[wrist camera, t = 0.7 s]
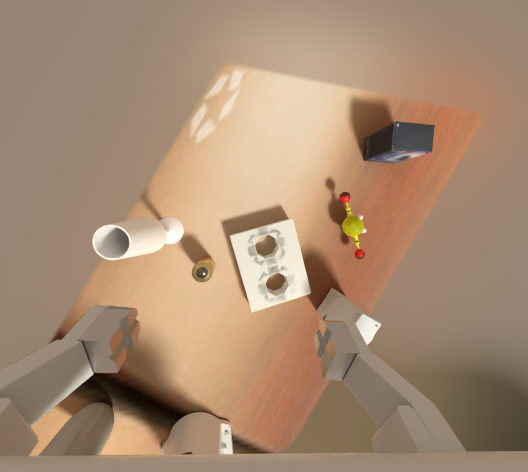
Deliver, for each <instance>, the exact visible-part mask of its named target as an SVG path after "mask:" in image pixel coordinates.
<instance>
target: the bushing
mask: <svg viewBox="0 0 528 472" xmlns="http://www.w3.org/2000/svg"><path fill="white" fill-rule="evenodd" d="M214 269H215V262H214V260H213V259H211V258H209V257H204V258H202V259H200V260H199V261H198V263H197V264H196V265H195V266H194V268H193V269H192V276H193V278H194V279H195V280H196V281H198V282H206V281H208V280H209V279H210V278H211V276H212V273H213V271H214Z"/></svg>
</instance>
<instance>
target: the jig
mask: <svg viewBox="0 0 528 472" xmlns="http://www.w3.org/2000/svg"><path fill="white" fill-rule="evenodd" d="M266 235H270V236H272V237H274V241H275V244H276V247H275V248H274V250H273V252H272V253H271V254H268V255H265V256H263V255H261V254H259V253H257V251H256V248H255V244H256V243H257V241H258V239H259V237H262V236H266ZM230 239H231V242H232V246H233V249H234V252H235V256H236V259H237V263H238V266H239V270H240V273H241V277H242V280H243V283H244V287H245V290H246V294H247V297H248V301H249V304H250V308H251V311H252V312H255V311H258V310H261V309H264V308H267V307H270V306H274V305H277V304H280V303H283V302H286V301H289V300H292V299H295V298H298V297H301V296H304V295H308V294H311V290H310V286H309V282H308V278H307V274H306V270H305V266H304V262H303V258H302V254H301V250H300V246H299V242H298V238H297V234H296V230H295V226H294V222H293V219H285V220H282V221H278V222H274V223H271V224H267V225H264V226H260V227H256V228H253V229H249V230H246V231H242V232H238V233H235V234H231V235H230ZM277 273H280V274H282V275H284V279H285V282H284V283H283V285H282V287H281V288H279V289H276V290H271V289H269V288H267V287H266V284H265V283H266V282H267V280H268V278H269V276H270V275H273V274H277Z"/></svg>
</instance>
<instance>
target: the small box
mask: <svg viewBox="0 0 528 472" xmlns="http://www.w3.org/2000/svg"><path fill="white" fill-rule="evenodd" d="M434 127H435V125H426V124H416V123H406V122H396V121H395V122H393V123H392V124H390V125H388V126H386V127H385V128H383V129H381V130H380V131H378V132H376V133H374V134H372V135H371V136H369V137H367V138H365V153H364V161H375V162H389V163H399V162H402V161H405V160H408V159H411V158H415V157H418V156H421V155H424V154H427V153H430V152H432V146H433V136H434Z"/></svg>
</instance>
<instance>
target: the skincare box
mask: <svg viewBox="0 0 528 472" xmlns="http://www.w3.org/2000/svg"><path fill="white" fill-rule="evenodd" d="M317 312H318V313H319V315H320V316H321V317H322V318H323V320H335V321H351V322H354V323H355V324H356V326H357V328H358V329H359V331H360V333H361V335H362V337H363V339H364V340H365V342H366V344H367V345H368V343H369V342H371V340H372V339H373V337H374V334H375V333H376V331H377V330H378V329H379V327H380V326H381V323H380V322H378V321H377V320H375V319H374V318H373V317H372V316H370V315H369V314H368V313H367V312H365V311H364V310H363V309H361V308H360V307H359V306H358V305H356V304H355V303H354V302H353V301H351V300H350V299H349V298H347V297H346V296H344V295H343V294H341V293H340V292H338V291H336V290H335V289H333V288H331V289H330V291H329V293H328V294H327V296H326V298H325V299H324V301H323V302H322V303H321V305H320V306H319V308H318V309H317Z"/></svg>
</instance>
